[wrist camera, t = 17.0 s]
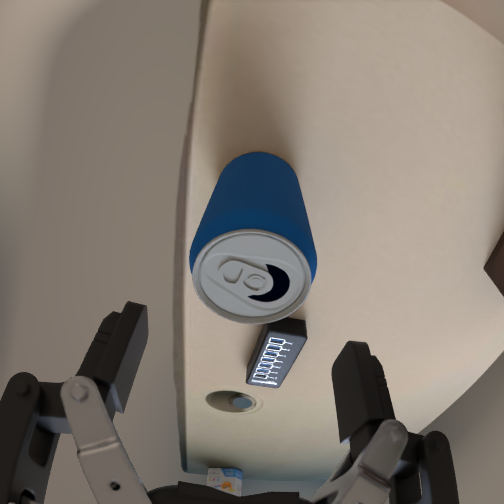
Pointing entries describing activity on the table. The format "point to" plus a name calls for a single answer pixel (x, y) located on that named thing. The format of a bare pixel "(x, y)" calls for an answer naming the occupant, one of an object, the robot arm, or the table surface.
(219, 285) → the beverage can
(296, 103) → the table surface
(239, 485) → the white cardboard box
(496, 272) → the bin
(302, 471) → the table surface
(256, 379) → the multiport hub
